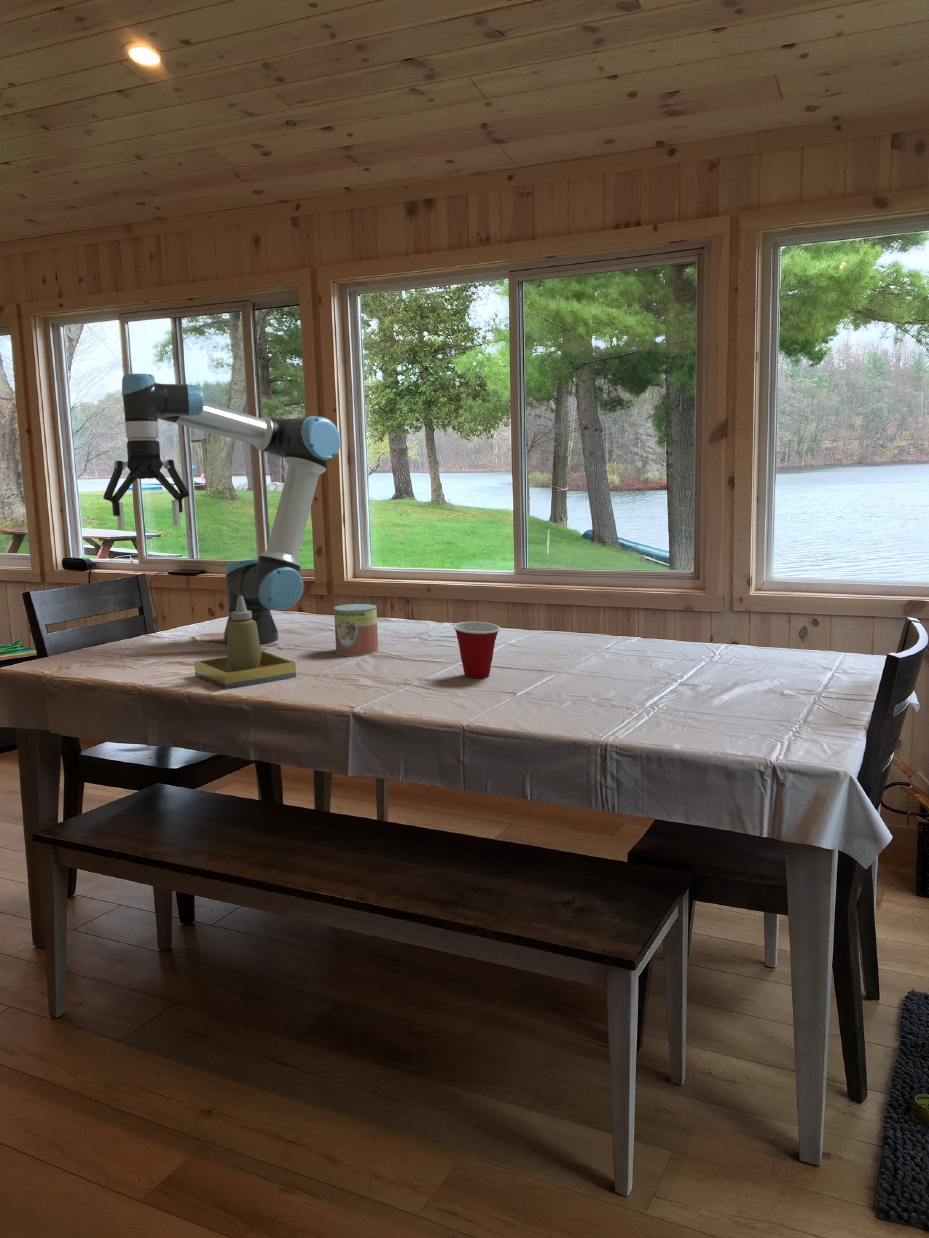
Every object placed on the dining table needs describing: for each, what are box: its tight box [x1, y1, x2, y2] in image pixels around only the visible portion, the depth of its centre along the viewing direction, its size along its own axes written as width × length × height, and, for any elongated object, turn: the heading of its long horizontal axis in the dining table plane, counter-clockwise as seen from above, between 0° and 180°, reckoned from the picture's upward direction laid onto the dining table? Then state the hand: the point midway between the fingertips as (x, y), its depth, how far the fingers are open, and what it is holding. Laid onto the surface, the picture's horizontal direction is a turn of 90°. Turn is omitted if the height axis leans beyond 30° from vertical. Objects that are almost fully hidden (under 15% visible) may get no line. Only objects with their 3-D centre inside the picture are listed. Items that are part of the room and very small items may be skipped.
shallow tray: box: [193, 650, 297, 690], centre depth 220 cm, size 18×18×4 cm
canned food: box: [333, 603, 379, 657], centre depth 246 cm, size 11×11×12 cm
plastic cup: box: [453, 621, 501, 679], centre depth 215 cm, size 11×11×12 cm
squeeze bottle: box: [226, 596, 262, 672], centre depth 219 cm, size 8×8×18 cm
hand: (149, 528), depth 228 cm, fingers open, 13 cm apart
